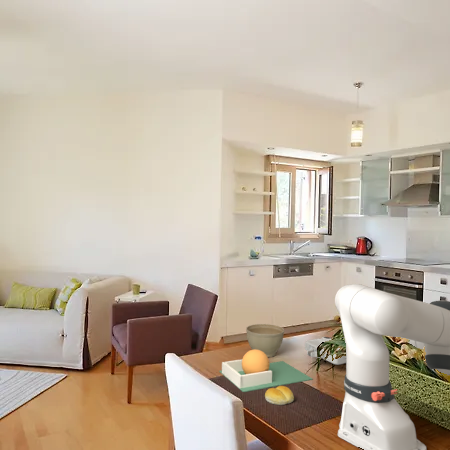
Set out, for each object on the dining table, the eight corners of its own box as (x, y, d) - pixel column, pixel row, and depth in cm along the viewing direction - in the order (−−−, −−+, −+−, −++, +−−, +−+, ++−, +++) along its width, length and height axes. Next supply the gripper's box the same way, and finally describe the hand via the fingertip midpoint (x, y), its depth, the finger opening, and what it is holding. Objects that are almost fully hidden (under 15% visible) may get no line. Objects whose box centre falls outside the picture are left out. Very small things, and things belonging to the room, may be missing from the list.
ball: (258, 358, 139) (241, 380, 141) (279, 366, 144) (263, 388, 145) (248, 340, 148) (232, 361, 149) (268, 348, 152) (252, 368, 154)
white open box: (271, 382, 142) (272, 371, 142) (239, 388, 137) (240, 376, 137) (251, 368, 156) (251, 357, 156) (221, 373, 151) (222, 362, 151)
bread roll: (260, 397, 131) (260, 385, 131) (283, 392, 135) (283, 380, 135) (274, 408, 124) (274, 395, 124) (298, 403, 128) (298, 390, 128)
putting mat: (312, 379, 146) (312, 378, 146) (243, 392, 135) (243, 391, 135) (282, 361, 164) (282, 360, 164) (219, 371, 153) (219, 370, 153)
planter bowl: (246, 360, 166) (246, 333, 166) (245, 347, 182) (245, 323, 182) (285, 361, 165) (286, 334, 165) (281, 348, 181) (282, 324, 181)
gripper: (355, 366, 154) (326, 371, 148) (321, 350, 173) (294, 354, 167) (356, 349, 154) (326, 354, 148) (322, 335, 173) (294, 339, 167)
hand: (309, 354), depth 158 cm, fingers closed
